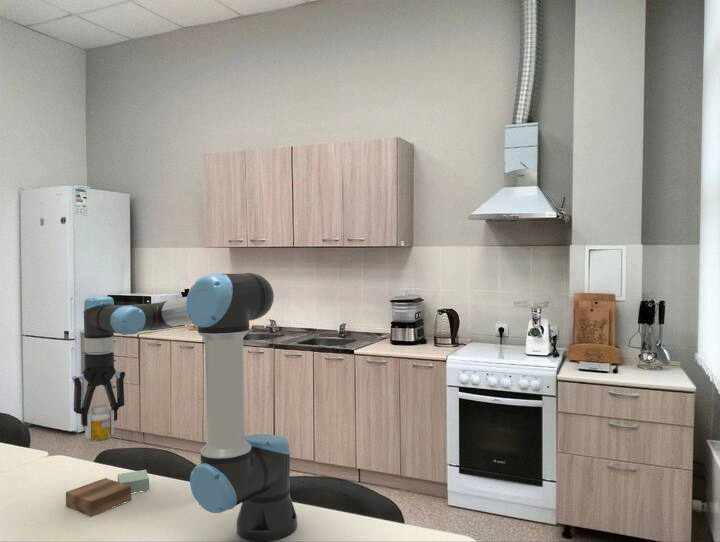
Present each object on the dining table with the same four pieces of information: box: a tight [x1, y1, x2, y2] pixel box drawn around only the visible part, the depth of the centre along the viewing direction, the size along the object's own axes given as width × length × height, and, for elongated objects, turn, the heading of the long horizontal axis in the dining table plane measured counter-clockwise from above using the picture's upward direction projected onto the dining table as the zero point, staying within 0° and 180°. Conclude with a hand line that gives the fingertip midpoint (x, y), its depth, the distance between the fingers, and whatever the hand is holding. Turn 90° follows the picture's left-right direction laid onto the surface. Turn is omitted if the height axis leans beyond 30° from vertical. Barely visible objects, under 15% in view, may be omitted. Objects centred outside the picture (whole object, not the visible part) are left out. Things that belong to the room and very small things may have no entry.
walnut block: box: [65, 477, 132, 518], centre depth 158 cm, size 12×12×4 cm
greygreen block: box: [117, 469, 150, 493], centre depth 169 cm, size 8×8×4 cm
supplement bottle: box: [88, 404, 111, 445], centre depth 158 cm, size 5×5×10 cm
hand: (99, 434), depth 158 cm, fingers closed on supplement bottle, 5 cm apart
